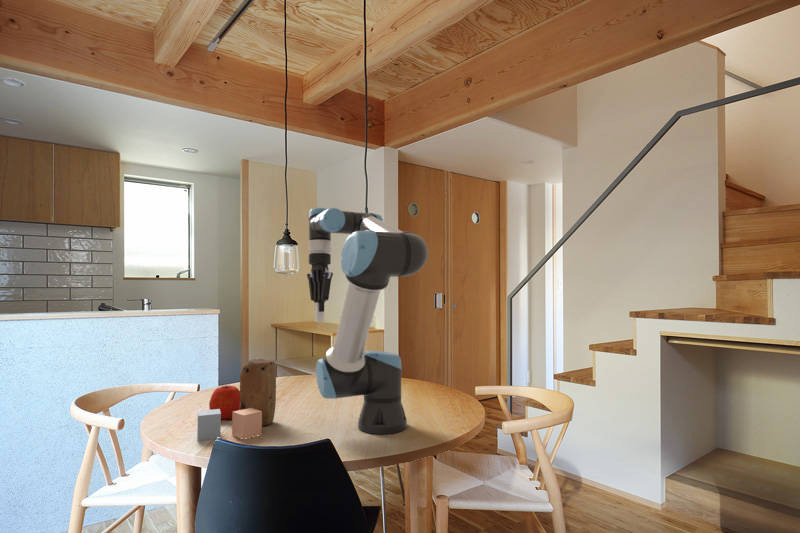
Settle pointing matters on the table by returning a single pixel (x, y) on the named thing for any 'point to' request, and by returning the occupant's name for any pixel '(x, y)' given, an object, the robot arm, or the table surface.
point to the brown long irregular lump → (259, 388)
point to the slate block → (209, 424)
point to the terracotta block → (246, 423)
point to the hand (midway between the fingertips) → (319, 321)
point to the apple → (225, 400)
